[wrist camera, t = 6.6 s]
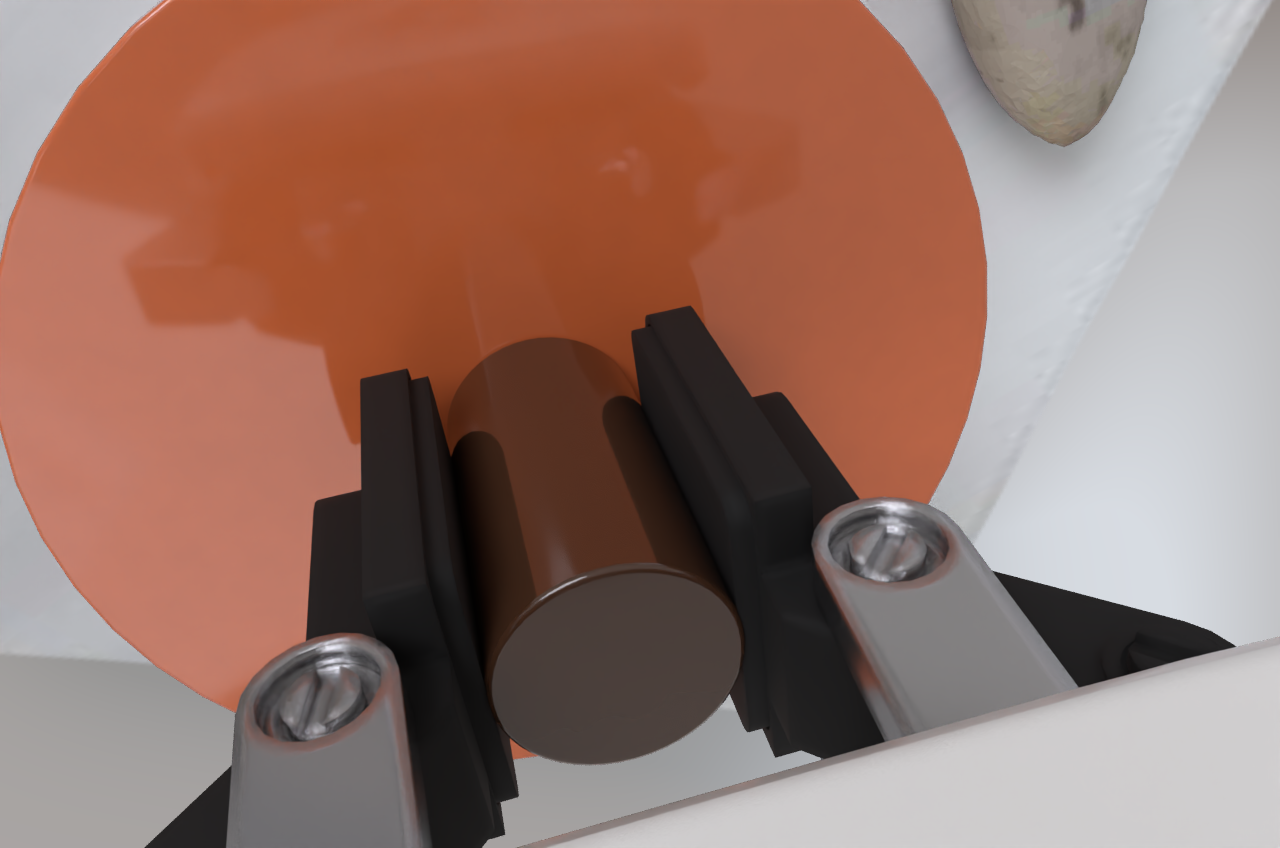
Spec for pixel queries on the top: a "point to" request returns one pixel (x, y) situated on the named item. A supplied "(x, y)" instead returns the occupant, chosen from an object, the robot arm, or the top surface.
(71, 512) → the lid
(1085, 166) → the top surface
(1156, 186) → the top surface
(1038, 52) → the decorative stone
